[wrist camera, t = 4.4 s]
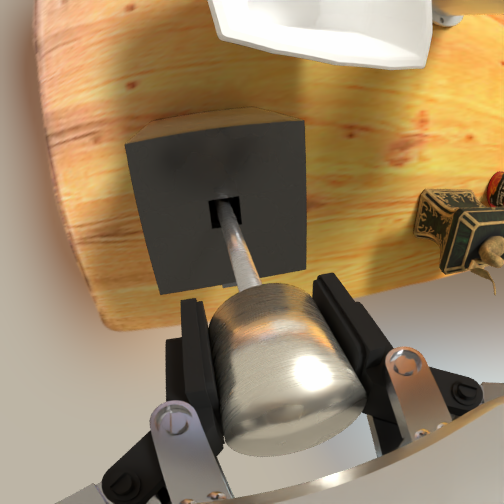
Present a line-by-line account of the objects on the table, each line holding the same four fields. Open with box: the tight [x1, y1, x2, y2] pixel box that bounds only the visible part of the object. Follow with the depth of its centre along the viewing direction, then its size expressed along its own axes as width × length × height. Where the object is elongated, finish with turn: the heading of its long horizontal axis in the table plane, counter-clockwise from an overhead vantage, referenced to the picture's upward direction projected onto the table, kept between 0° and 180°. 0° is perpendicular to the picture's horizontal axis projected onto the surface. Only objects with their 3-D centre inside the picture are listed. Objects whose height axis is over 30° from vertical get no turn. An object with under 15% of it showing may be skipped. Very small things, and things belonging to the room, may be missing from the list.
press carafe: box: [125, 107, 307, 295], centre depth 28 cm, size 14×11×16 cm
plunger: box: [208, 196, 367, 457], centre depth 16 cm, size 9×9×20 cm
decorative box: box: [413, 189, 504, 295], centre depth 36 cm, size 20×10×20 cm, turn 91°
